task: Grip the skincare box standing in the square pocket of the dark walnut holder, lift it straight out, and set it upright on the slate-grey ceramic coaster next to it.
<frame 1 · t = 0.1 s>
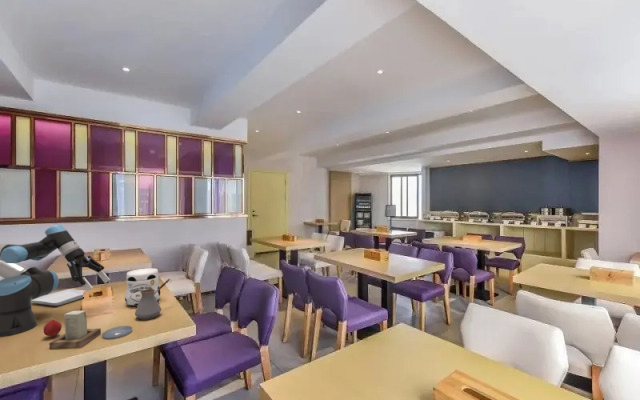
hand: (99, 285, 155), 15 cm above the table, tool tilted 35°, fingers open, 13 cm apart
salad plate: (62, 301, 179), on the table
milk container: (143, 303, 173), on the table
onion: (52, 337, 131), on the table
skincare box: (76, 341, 127), resting in pocket holder
coaster: (117, 333, 134), on the table
pocket holder: (76, 341, 127), on the table
coffee pot: (155, 313, 158), on the table
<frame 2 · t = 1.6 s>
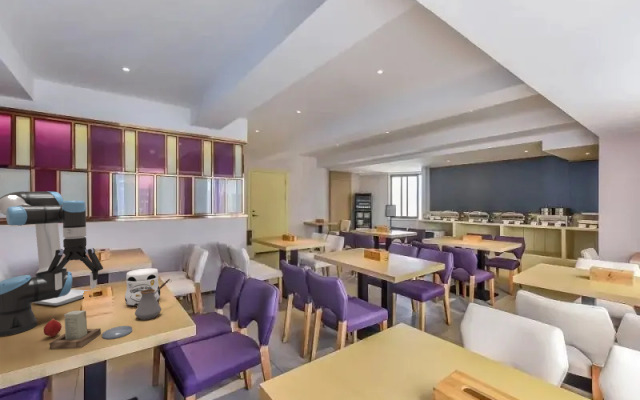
hand: (76, 288, 127), 22 cm above the table, tool pointing down, fingers open, 13 cm apart
nothing on the table moved.
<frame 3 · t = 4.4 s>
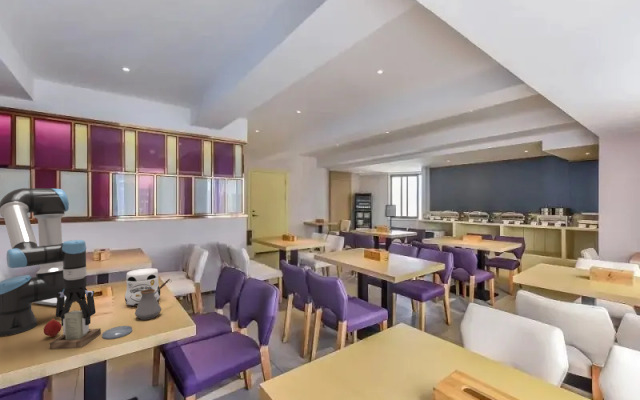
hand: (76, 332, 127), 4 cm above the table, tool pointing down, fingers closed on skincare box, 7 cm apart
skincare box: (76, 341, 127), resting in pocket holder, touching gripper
everything else where it was.
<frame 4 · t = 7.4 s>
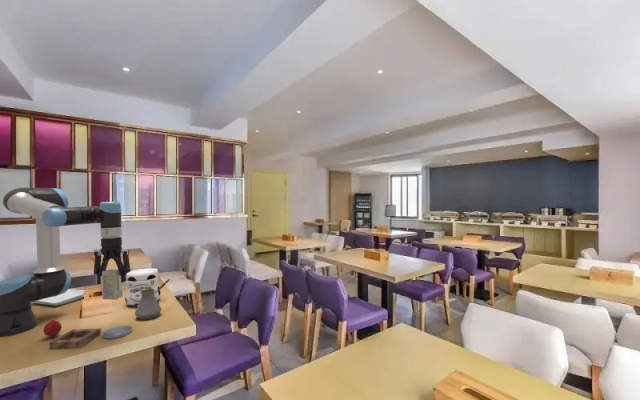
hand: (112, 289, 133), 20 cm above the table, tool pointing down, fingers closed on skincare box, 7 cm apart
skincare box: (112, 298, 133), point 16 cm above the table, touching gripper
everything else where it was.
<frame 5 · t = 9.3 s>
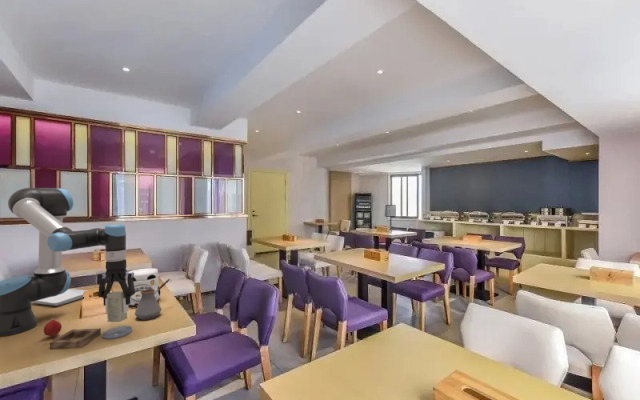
hand: (117, 312, 134), 9 cm above the table, tool pointing down, fingers closed on skincare box, 7 cm apart
skincare box: (117, 320, 134), point 6 cm above the table, touching gripper
everything else where it was.
when the fingers open (5 cm above the table, at t = 10.9 s): skincare box stays where it is, resting on coaster.
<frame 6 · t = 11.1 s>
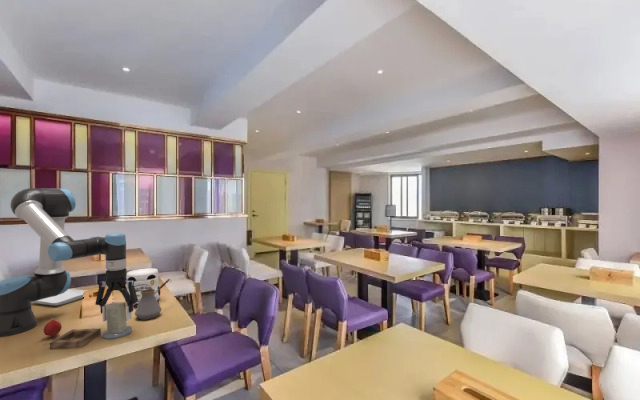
hand: (117, 319, 134), 6 cm above the table, tool pointing down, fingers open, 9 cm apart
skincare box: (116, 331, 134), point 1 cm above the table, touching coaster
everything else where it was.
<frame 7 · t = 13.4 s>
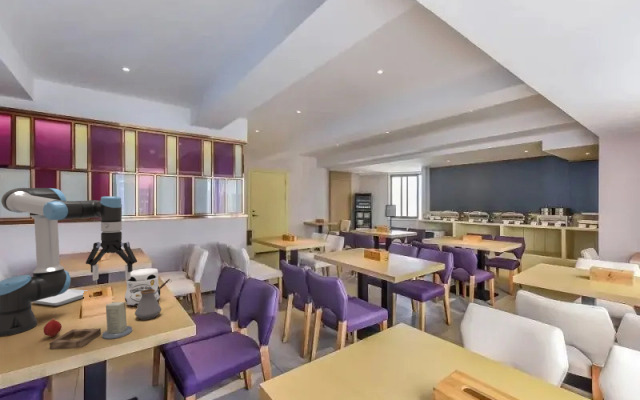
hand: (111, 279, 135), 23 cm above the table, tool pointing down, fingers open, 13 cm apart
nothing on the table moved.
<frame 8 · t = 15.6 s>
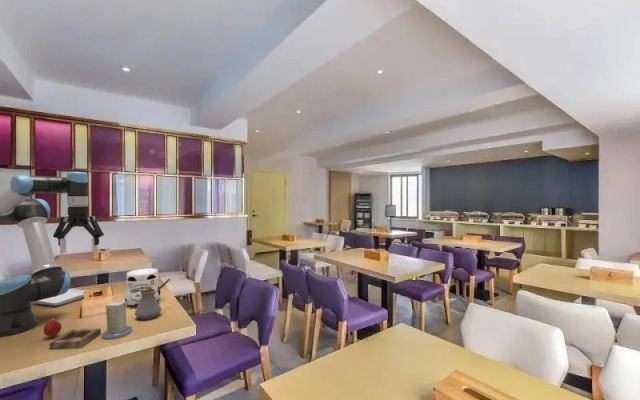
hand: (79, 252, 139), 35 cm above the table, tool pointing down, fingers open, 13 cm apart
nothing on the table moved.
at the end: skincare box inside the target area on the coaster (0.3 cm from its centre), point 0.8 cm above the coaster's base; skincare box tilted 0°; the gripper is holding nothing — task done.
